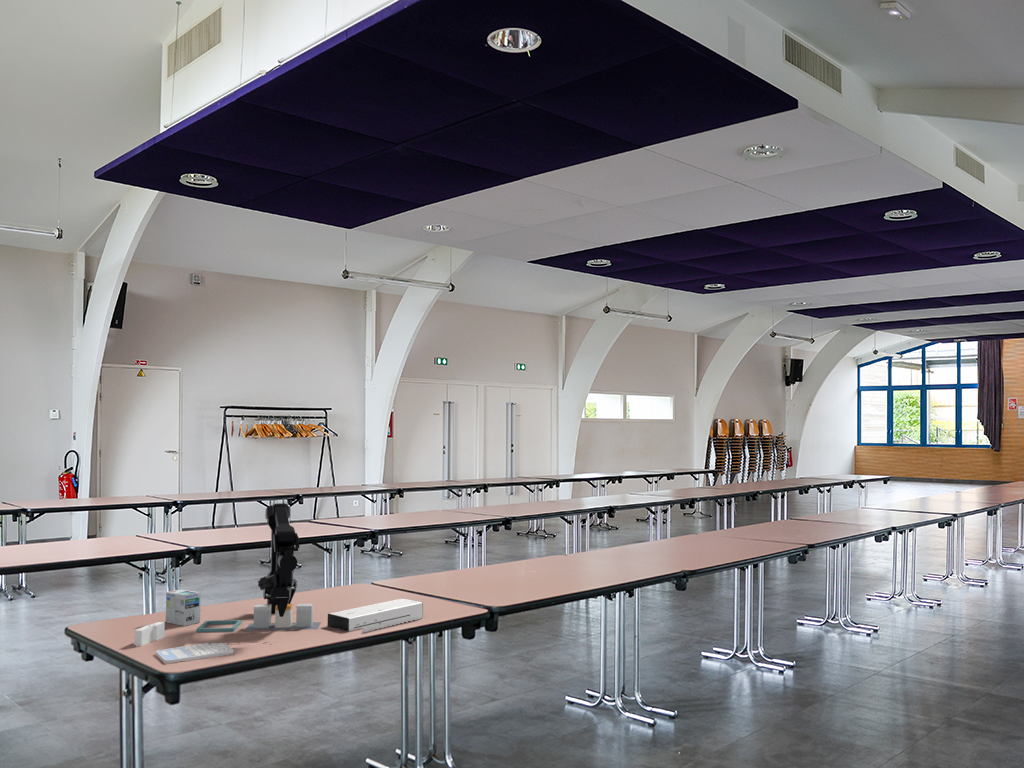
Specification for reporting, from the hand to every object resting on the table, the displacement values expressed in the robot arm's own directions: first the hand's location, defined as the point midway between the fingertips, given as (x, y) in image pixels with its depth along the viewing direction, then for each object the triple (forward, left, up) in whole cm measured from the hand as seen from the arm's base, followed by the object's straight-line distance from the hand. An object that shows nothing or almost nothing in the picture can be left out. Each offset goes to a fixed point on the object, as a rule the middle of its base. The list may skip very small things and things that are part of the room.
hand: (283, 613), depth 281 cm
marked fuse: (0, 0, -4) cm, 4 cm away
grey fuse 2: (0, +7, -4) cm, 8 cm away
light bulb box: (-15, -37, -6) cm, 40 cm away
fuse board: (0, 0, -6) cm, 6 cm away
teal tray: (0, -21, -6) cm, 22 cm away
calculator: (+27, -22, -6) cm, 35 cm away
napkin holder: (+11, -40, -6) cm, 41 cm away
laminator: (-7, +31, -6) cm, 32 cm away
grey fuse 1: (0, -7, -4) cm, 8 cm away
